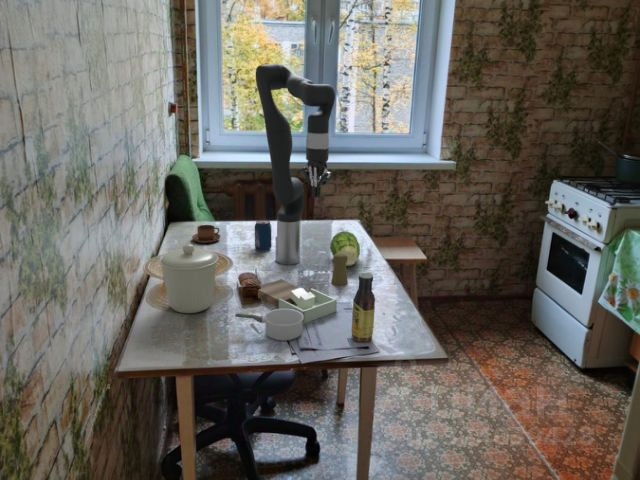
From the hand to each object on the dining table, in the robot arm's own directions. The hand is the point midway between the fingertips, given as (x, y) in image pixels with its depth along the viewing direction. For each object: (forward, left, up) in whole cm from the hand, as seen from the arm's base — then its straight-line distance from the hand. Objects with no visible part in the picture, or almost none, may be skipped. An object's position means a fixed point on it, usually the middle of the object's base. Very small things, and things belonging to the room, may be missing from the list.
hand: (316, 196), depth 196 cm
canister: (-10, -44, -32) cm, 55 cm away
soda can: (-42, +9, -32) cm, 54 cm away
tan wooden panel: (+3, -17, -32) cm, 36 cm away
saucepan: (+20, -36, -32) cm, 52 cm away
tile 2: (+14, -17, -28) cm, 36 cm away
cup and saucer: (-67, -3, -32) cm, 74 cm away
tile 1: (+11, -17, -30) cm, 36 cm away
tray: (+16, -17, -32) cm, 40 cm away
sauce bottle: (+40, -17, -32) cm, 54 cm away
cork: (+5, +8, -32) cm, 34 cm away
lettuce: (-8, +24, -32) cm, 41 cm away
